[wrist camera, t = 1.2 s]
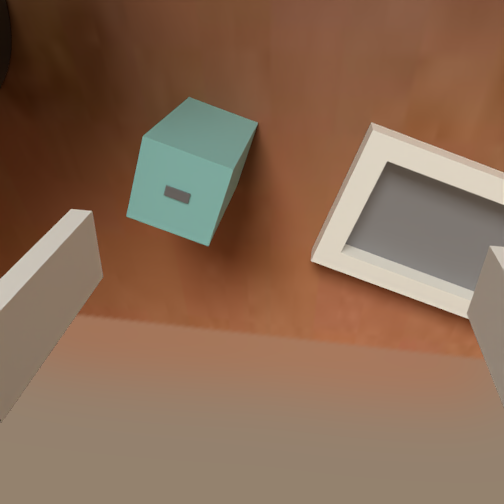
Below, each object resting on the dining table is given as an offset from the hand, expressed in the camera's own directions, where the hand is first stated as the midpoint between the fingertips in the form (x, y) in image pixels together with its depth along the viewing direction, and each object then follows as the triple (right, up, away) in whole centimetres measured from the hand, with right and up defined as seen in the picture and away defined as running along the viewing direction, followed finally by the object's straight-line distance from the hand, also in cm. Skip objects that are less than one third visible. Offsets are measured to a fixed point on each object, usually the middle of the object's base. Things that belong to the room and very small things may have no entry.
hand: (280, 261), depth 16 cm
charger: (-4, +8, +18) cm, 20 cm away
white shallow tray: (+13, +2, +18) cm, 22 cm away
